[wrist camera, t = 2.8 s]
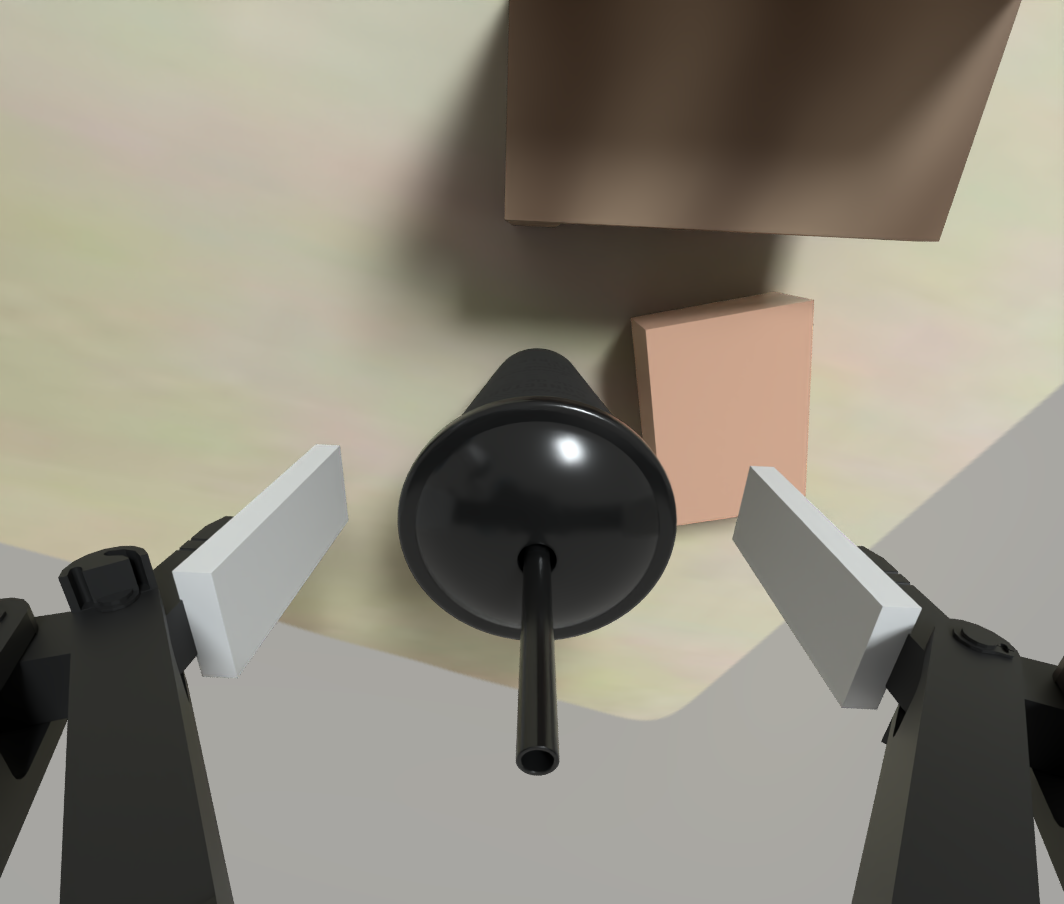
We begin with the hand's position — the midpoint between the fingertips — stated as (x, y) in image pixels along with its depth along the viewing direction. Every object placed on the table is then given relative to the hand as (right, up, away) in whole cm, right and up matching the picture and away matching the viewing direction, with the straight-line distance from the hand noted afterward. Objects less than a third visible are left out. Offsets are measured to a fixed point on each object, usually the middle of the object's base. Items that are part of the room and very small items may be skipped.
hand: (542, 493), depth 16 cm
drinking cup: (0, +5, +10) cm, 11 cm away
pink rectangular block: (+9, +4, +10) cm, 14 cm away
